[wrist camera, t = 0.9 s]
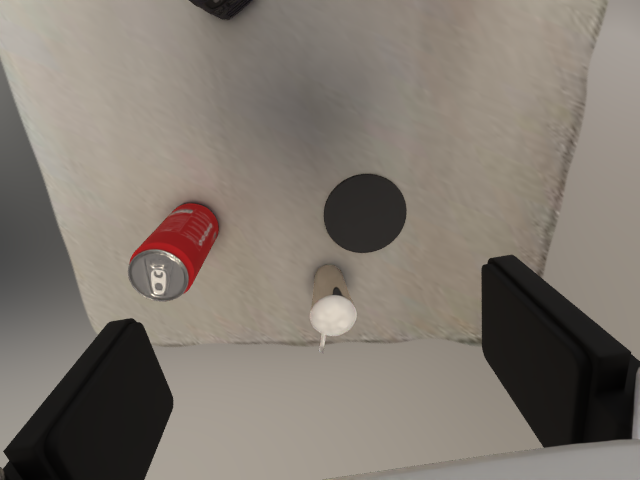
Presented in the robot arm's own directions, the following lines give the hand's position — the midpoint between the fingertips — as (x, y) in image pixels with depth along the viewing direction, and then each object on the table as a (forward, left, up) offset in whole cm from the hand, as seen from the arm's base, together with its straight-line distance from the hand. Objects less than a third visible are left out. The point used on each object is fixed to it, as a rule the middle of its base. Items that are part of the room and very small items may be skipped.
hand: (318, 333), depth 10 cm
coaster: (+9, -4, -31) cm, 32 cm away
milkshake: (+9, -13, -31) cm, 35 cm away
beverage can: (-7, -13, -31) cm, 34 cm away
